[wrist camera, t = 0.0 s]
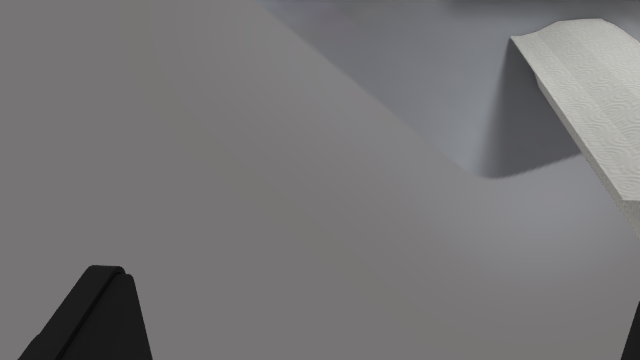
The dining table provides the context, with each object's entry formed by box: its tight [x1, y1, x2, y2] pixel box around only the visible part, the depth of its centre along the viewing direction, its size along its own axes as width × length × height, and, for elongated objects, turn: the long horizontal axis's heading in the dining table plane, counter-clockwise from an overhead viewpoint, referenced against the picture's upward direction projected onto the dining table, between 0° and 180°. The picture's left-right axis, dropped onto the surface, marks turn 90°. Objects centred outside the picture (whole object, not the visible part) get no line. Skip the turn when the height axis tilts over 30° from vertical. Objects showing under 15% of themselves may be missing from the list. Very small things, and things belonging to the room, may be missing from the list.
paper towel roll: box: [510, 18, 640, 240], centre depth 29 cm, size 7×6×21 cm
